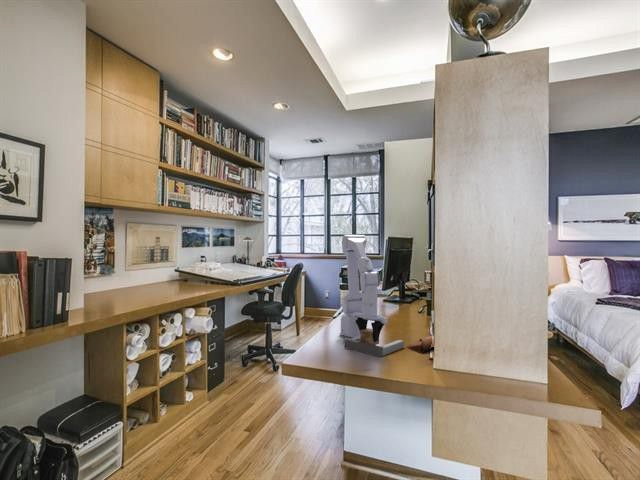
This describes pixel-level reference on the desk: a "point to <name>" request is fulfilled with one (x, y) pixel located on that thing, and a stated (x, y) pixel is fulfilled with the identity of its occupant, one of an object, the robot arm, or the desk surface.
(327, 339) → the desk surface
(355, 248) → the robot arm
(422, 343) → the sunglasses case
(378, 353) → the bay
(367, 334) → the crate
